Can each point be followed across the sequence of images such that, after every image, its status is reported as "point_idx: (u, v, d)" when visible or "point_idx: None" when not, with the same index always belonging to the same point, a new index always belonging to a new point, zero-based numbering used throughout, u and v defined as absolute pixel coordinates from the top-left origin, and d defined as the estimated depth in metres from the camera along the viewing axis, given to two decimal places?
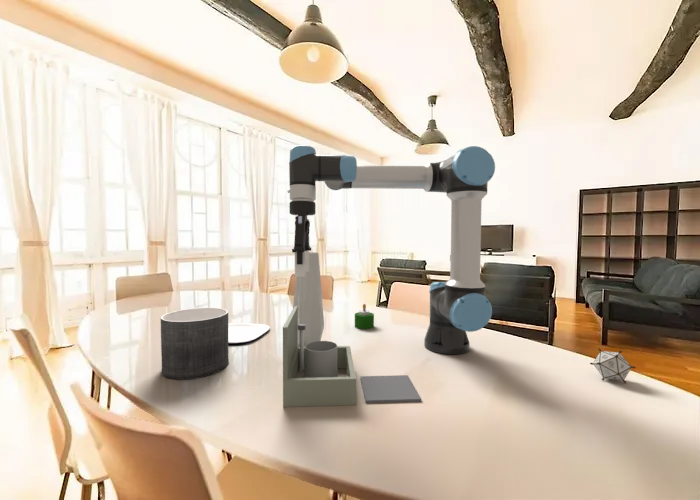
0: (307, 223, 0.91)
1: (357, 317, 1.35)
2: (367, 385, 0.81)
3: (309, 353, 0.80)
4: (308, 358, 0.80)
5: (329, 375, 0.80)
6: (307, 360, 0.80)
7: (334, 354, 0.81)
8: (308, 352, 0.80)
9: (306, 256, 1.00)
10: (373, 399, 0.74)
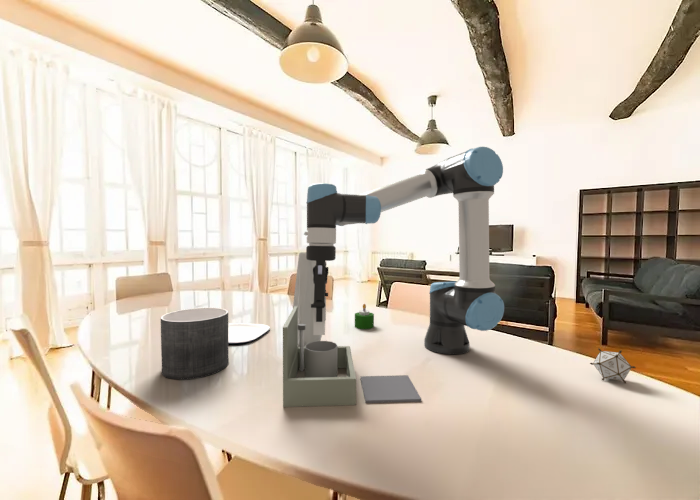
0: (326, 271, 0.80)
1: (357, 317, 1.35)
2: (367, 385, 0.81)
3: (310, 353, 0.80)
4: (308, 358, 0.80)
5: (329, 375, 0.80)
6: (307, 360, 0.80)
7: (334, 354, 0.81)
8: (308, 352, 0.80)
9: None
10: (373, 399, 0.74)
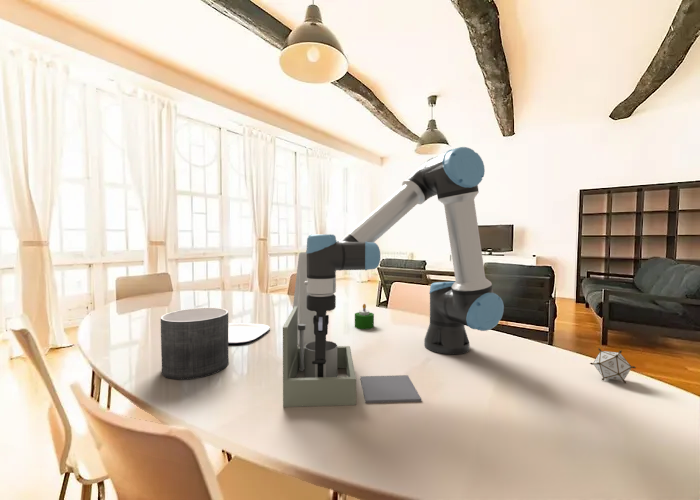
0: (327, 322, 0.81)
1: (357, 317, 1.35)
2: (367, 385, 0.81)
3: (309, 353, 0.80)
4: (308, 358, 0.80)
5: (329, 375, 0.80)
6: (307, 360, 0.80)
7: (334, 354, 0.81)
8: (308, 352, 0.80)
9: None
10: (373, 399, 0.74)
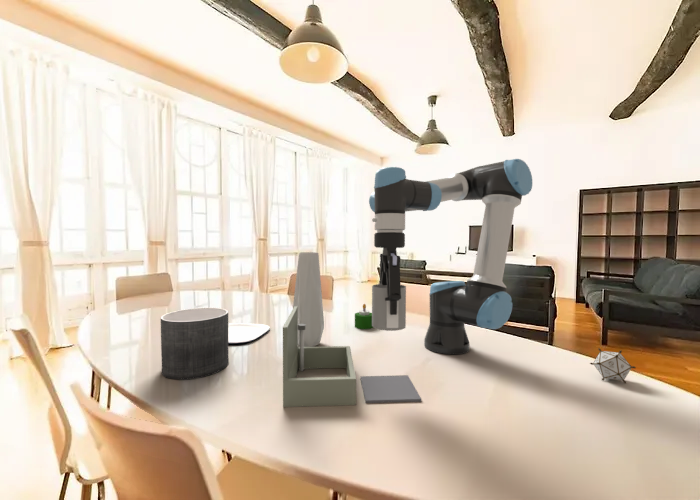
0: None
1: (357, 317, 1.35)
2: (367, 385, 0.81)
3: (380, 291, 0.76)
4: (377, 297, 0.77)
5: (400, 314, 0.76)
6: (376, 299, 0.77)
7: (404, 293, 0.77)
8: (378, 290, 0.76)
9: None
10: (373, 399, 0.74)
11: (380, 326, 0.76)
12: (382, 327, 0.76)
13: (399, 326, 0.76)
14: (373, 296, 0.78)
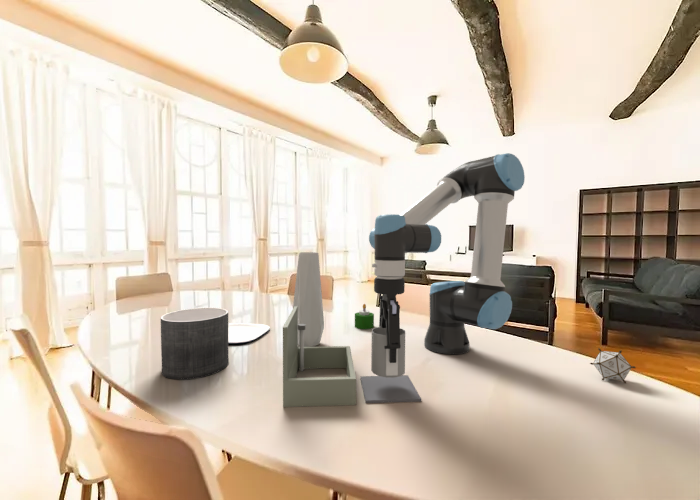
0: None
1: (357, 317, 1.35)
2: (367, 385, 0.81)
3: (379, 338, 0.76)
4: (377, 343, 0.77)
5: (399, 361, 0.76)
6: (376, 345, 0.77)
7: (404, 339, 0.78)
8: (377, 337, 0.77)
9: None
10: (373, 399, 0.74)
11: (379, 372, 0.77)
12: (381, 374, 0.76)
13: (398, 373, 0.76)
14: (373, 341, 0.79)
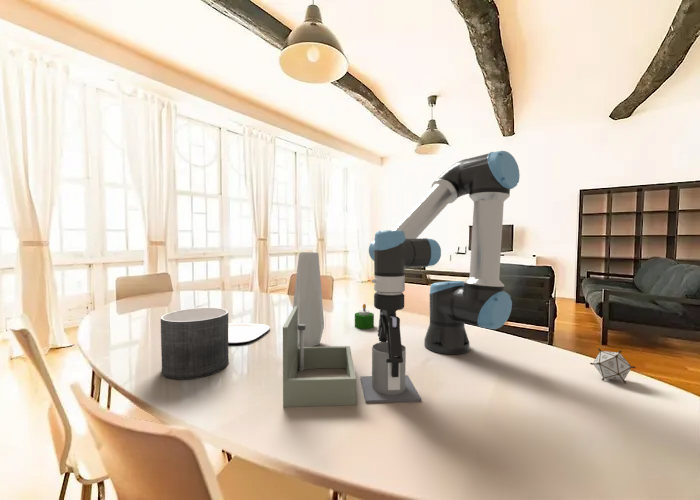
0: None
1: (357, 317, 1.35)
2: (367, 385, 0.81)
3: (380, 355, 0.77)
4: (377, 360, 0.77)
5: (400, 378, 0.77)
6: (376, 362, 0.77)
7: (404, 356, 0.78)
8: (378, 354, 0.77)
9: None
10: (373, 399, 0.74)
11: (380, 389, 0.77)
12: (382, 391, 0.77)
13: (399, 390, 0.77)
14: (373, 358, 0.79)
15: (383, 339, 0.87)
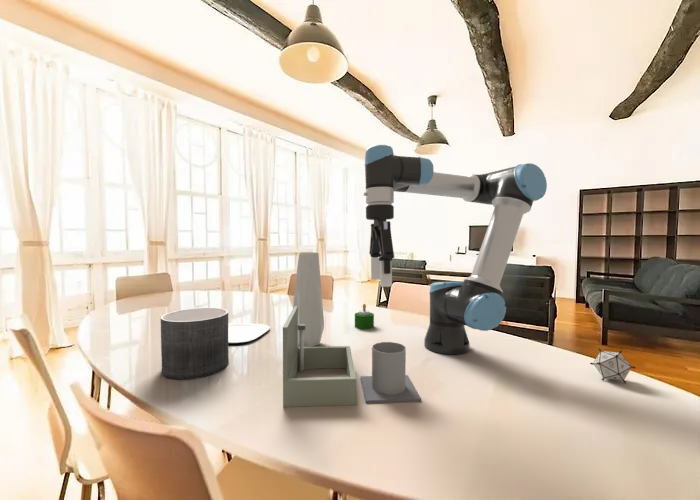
0: None
1: (357, 317, 1.35)
2: (367, 385, 0.81)
3: (380, 355, 0.77)
4: (377, 360, 0.77)
5: (400, 378, 0.77)
6: (376, 362, 0.77)
7: (404, 356, 0.78)
8: (378, 354, 0.77)
9: (377, 263, 0.94)
10: (373, 399, 0.74)
11: (380, 389, 0.77)
12: (382, 391, 0.77)
13: (399, 389, 0.77)
14: (373, 358, 0.79)
15: (374, 255, 0.94)
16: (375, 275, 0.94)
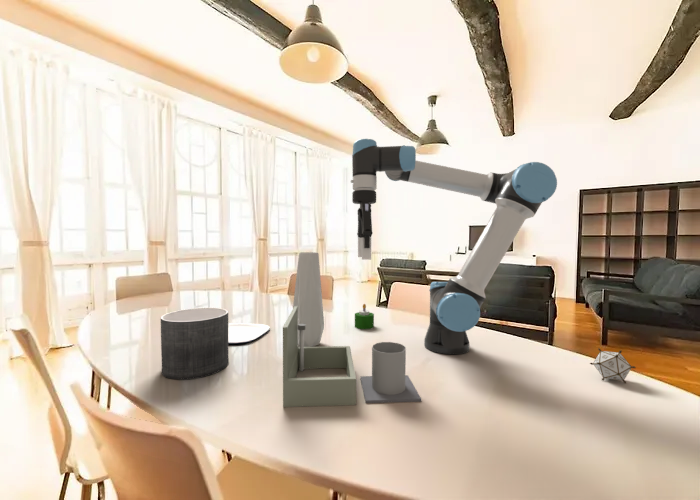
0: None
1: (357, 317, 1.35)
2: (367, 385, 0.81)
3: (380, 355, 0.77)
4: (377, 360, 0.77)
5: (400, 378, 0.77)
6: (376, 362, 0.77)
7: (404, 356, 0.78)
8: (378, 354, 0.77)
9: None
10: (373, 399, 0.74)
11: (380, 389, 0.77)
12: (382, 391, 0.77)
13: (399, 390, 0.77)
14: (373, 358, 0.79)
15: None
16: (361, 253, 1.07)
